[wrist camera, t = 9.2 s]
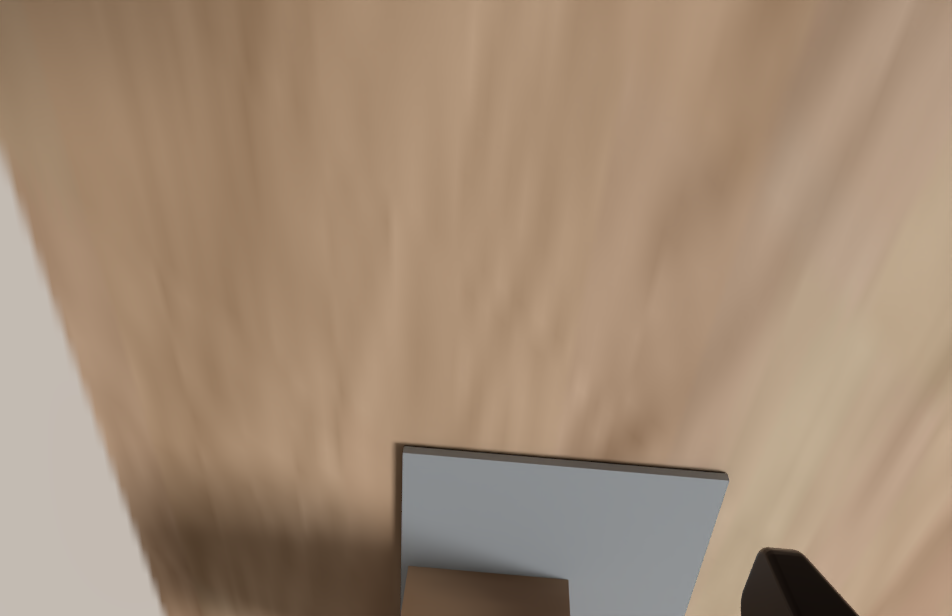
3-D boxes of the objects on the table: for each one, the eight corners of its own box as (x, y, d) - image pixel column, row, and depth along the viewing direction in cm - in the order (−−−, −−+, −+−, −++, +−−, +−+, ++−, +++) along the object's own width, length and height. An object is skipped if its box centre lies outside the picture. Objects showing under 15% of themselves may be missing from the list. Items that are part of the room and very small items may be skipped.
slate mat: (727, 473, 24) (729, 480, 24) (654, 694, 31) (656, 701, 31) (404, 446, 24) (402, 452, 24) (400, 671, 31) (399, 678, 31)
